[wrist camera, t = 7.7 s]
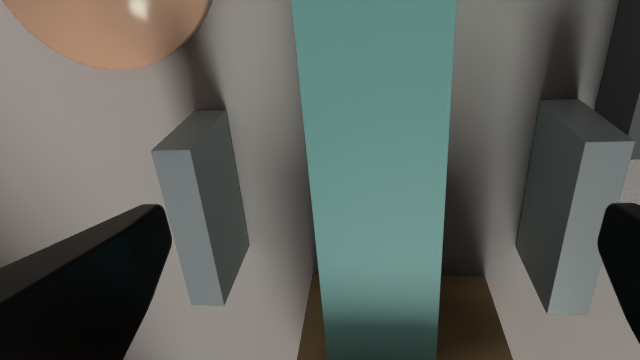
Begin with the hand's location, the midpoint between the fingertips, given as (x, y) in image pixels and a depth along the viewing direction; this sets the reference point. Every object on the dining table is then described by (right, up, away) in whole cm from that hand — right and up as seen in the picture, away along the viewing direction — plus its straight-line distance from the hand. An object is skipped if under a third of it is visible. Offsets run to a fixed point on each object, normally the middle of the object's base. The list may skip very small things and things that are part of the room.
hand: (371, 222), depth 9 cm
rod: (+1, +3, +4) cm, 5 cm away
